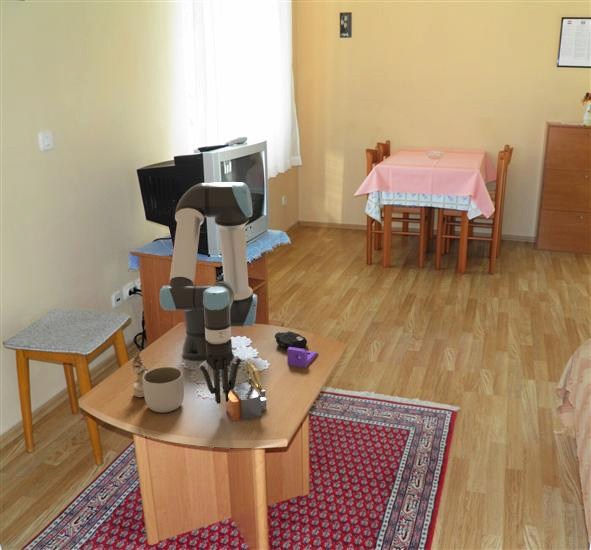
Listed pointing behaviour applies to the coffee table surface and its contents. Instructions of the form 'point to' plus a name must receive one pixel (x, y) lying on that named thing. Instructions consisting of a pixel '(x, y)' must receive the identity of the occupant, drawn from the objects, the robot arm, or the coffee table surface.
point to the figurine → (138, 374)
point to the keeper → (250, 368)
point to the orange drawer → (238, 406)
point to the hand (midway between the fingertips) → (222, 411)
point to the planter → (163, 388)
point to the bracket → (299, 357)
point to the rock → (290, 340)
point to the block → (248, 400)
